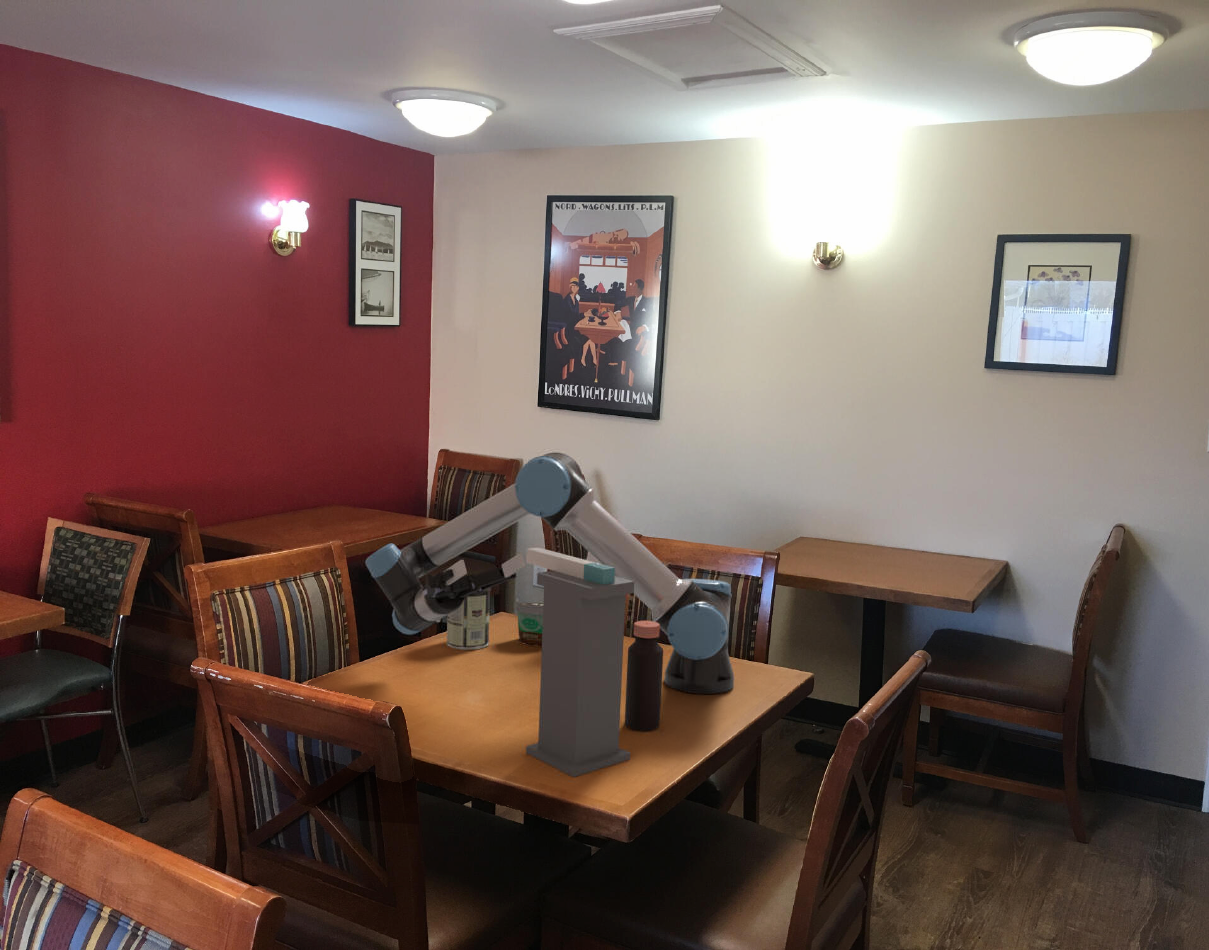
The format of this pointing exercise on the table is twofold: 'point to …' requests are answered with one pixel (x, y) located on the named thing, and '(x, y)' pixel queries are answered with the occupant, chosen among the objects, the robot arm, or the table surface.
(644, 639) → the bottle
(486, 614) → the coffee can
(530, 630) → the food container
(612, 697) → the shelf stand
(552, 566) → the beige teal square bar
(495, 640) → the table surface
